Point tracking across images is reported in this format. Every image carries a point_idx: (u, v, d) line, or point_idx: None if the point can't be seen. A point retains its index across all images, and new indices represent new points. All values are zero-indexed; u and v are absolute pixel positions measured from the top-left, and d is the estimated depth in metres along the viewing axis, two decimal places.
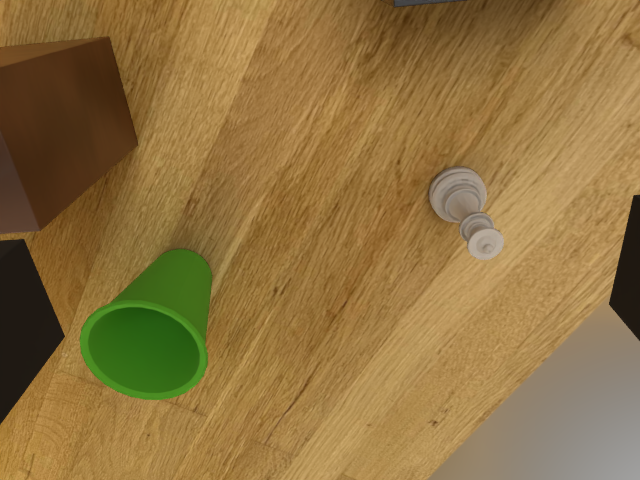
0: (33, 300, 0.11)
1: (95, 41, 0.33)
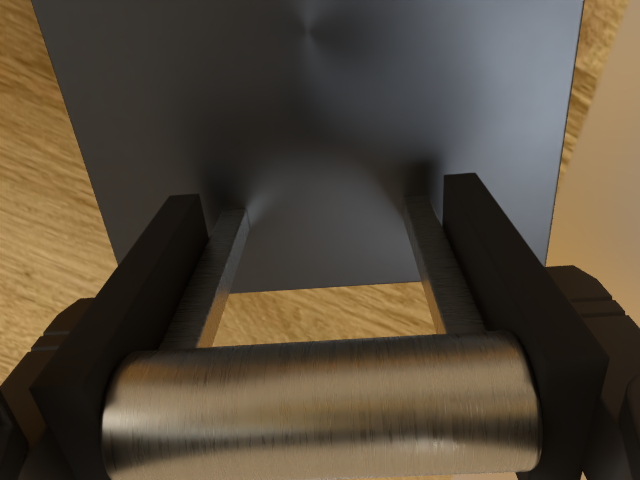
0: None
1: None
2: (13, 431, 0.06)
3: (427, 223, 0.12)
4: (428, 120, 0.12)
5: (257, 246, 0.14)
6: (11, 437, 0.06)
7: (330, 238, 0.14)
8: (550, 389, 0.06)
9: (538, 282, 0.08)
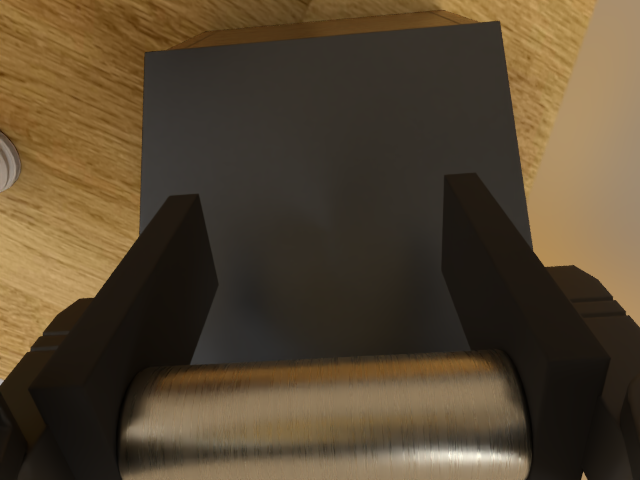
0: (204, 248, 0.12)
1: None
2: (12, 431, 0.06)
3: None
4: (425, 302, 0.15)
5: None
6: (10, 437, 0.06)
7: None
8: (551, 389, 0.06)
9: (539, 282, 0.08)
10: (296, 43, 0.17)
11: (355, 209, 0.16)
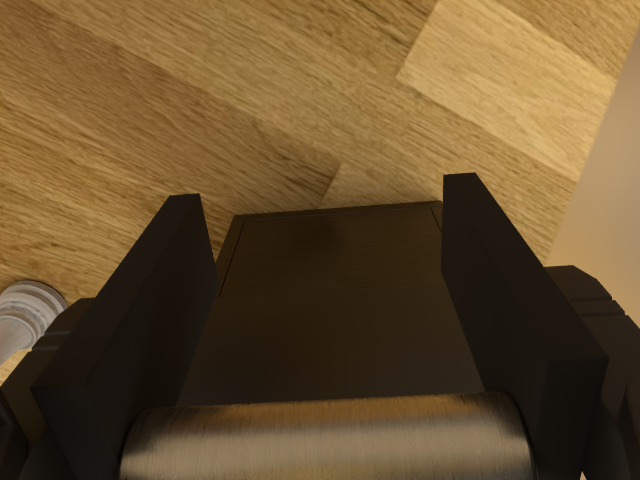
0: (205, 248, 0.12)
1: None
2: (14, 431, 0.06)
3: None
4: None
5: None
6: (12, 437, 0.06)
7: None
8: (550, 389, 0.06)
9: (538, 282, 0.08)
10: (320, 293, 0.21)
11: None
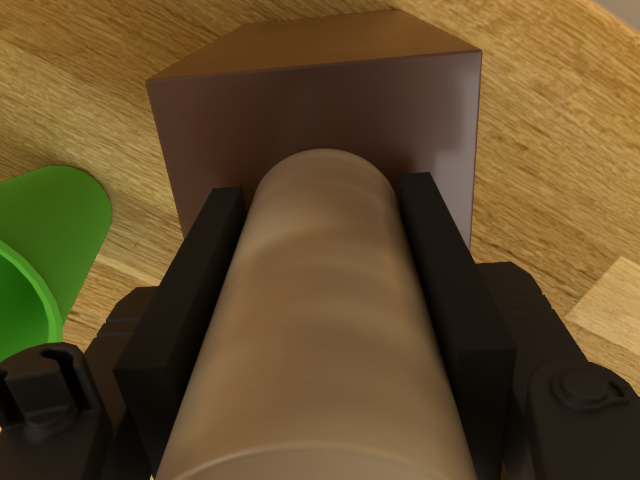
0: None
1: None
2: (101, 414, 0.06)
3: None
4: None
5: None
6: (99, 420, 0.06)
7: None
8: (464, 378, 0.07)
9: (466, 277, 0.08)
10: None
11: None
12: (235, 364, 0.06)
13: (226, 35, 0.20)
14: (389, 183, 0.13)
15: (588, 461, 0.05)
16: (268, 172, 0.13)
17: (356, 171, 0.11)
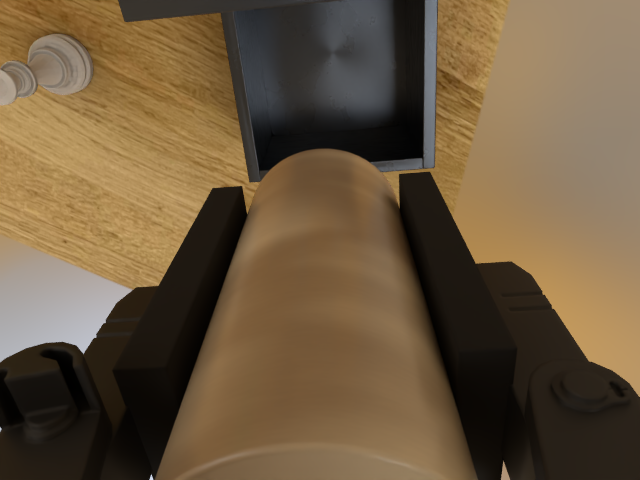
0: None
1: None
2: (101, 414, 0.06)
3: None
4: None
5: None
6: (99, 420, 0.06)
7: None
8: (464, 378, 0.07)
9: (466, 277, 0.08)
10: None
11: None
12: (235, 365, 0.06)
13: None
14: (389, 183, 0.13)
15: (588, 461, 0.05)
16: (268, 172, 0.13)
17: (356, 171, 0.11)
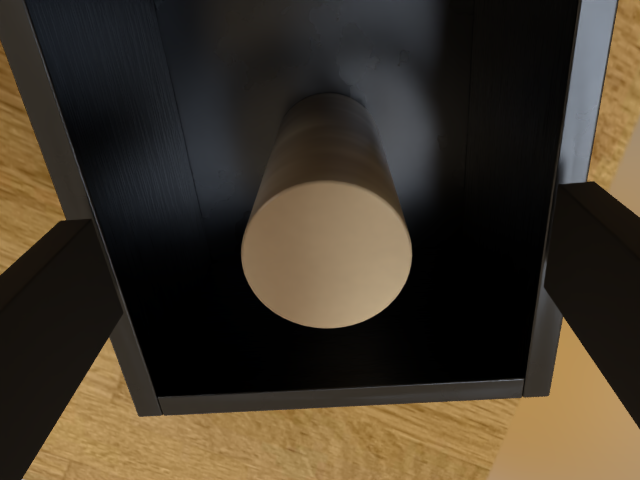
0: (99, 276, 0.12)
1: None
2: None
3: None
4: None
5: None
6: None
7: None
8: None
9: None
10: None
11: None
12: (286, 169, 0.12)
13: None
14: (372, 118, 0.19)
15: None
16: (290, 110, 0.19)
17: (349, 104, 0.17)
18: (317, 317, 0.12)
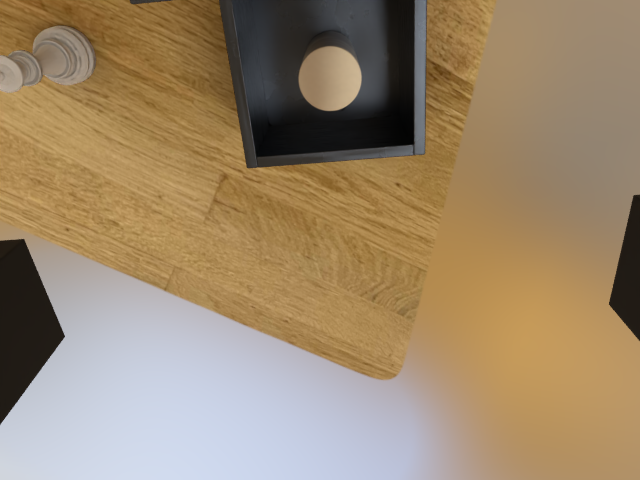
0: (33, 300, 0.11)
1: None
2: None
3: None
4: None
5: None
6: None
7: None
8: None
9: None
10: None
11: None
12: (314, 47, 0.32)
13: None
14: (351, 43, 0.39)
15: None
16: None
17: (340, 34, 0.37)
18: (326, 105, 0.32)
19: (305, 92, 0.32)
